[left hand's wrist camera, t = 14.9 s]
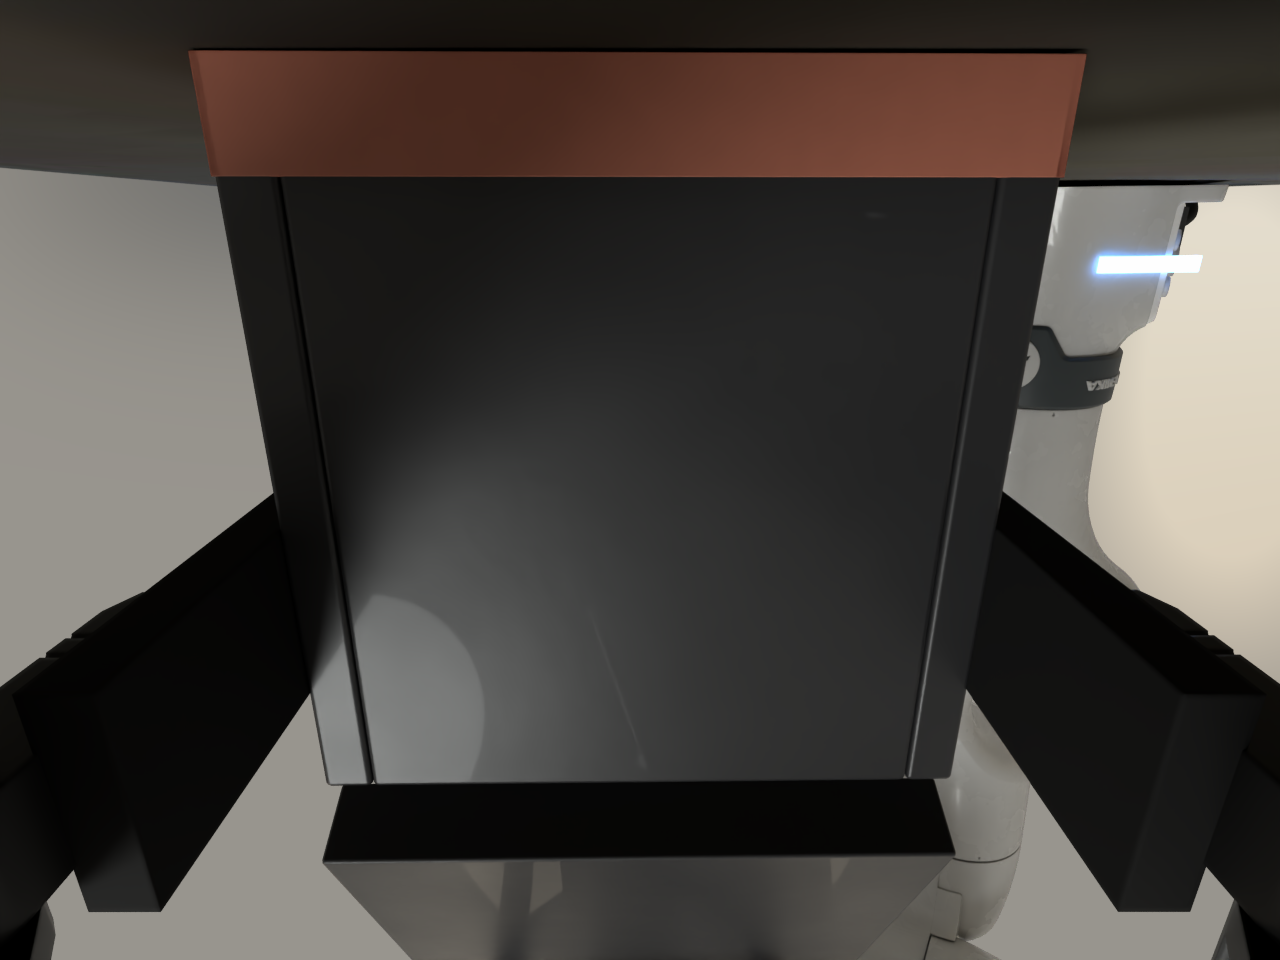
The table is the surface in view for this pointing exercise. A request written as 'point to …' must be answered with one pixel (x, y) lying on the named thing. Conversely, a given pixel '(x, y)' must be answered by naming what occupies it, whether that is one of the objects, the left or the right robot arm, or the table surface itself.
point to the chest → (637, 394)
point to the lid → (639, 866)
